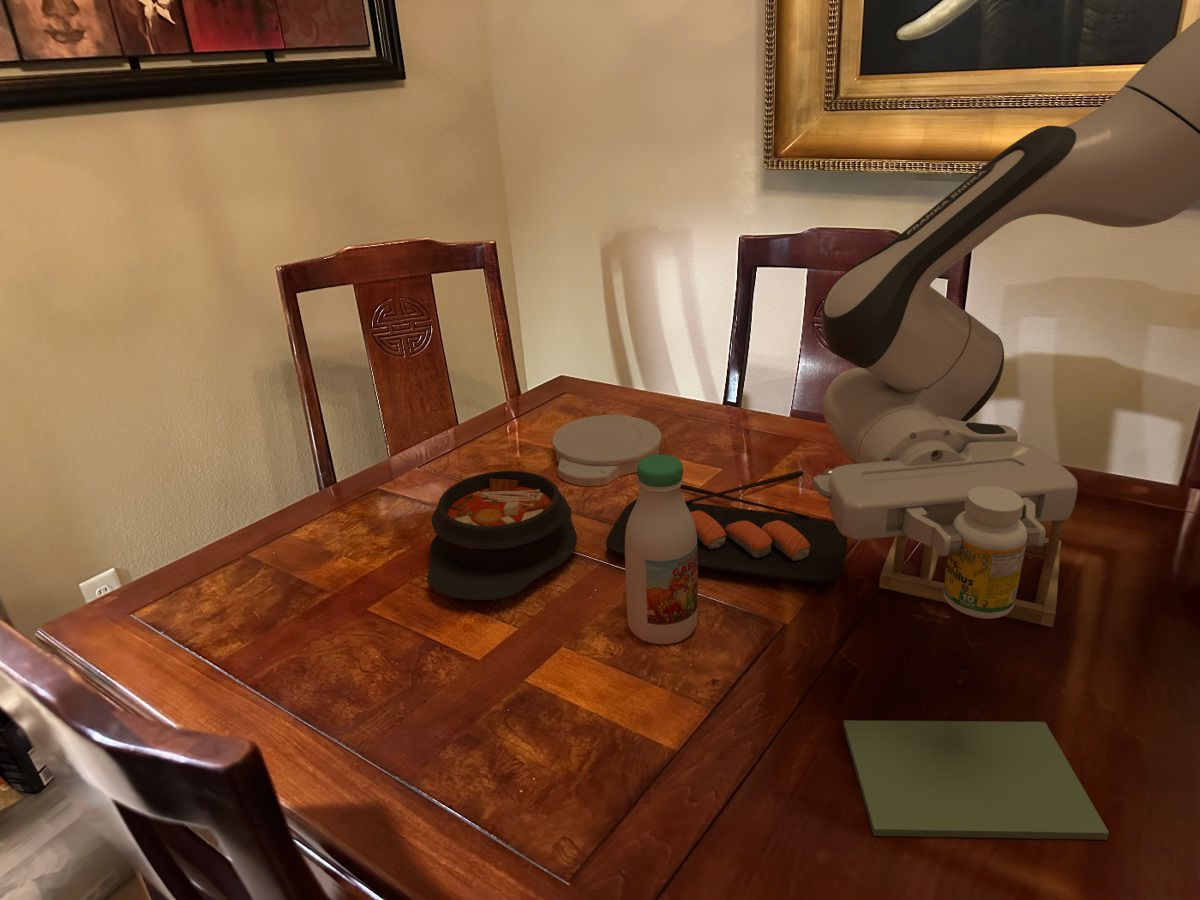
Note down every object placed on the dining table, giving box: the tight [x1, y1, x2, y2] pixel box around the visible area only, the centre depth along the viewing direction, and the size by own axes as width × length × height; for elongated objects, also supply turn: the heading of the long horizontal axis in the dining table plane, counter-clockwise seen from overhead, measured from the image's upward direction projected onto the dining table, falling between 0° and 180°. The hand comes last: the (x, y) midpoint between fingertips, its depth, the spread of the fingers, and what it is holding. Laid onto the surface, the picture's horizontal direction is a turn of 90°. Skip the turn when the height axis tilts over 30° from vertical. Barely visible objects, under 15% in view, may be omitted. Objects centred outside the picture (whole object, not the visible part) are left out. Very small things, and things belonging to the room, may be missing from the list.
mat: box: [842, 719, 1110, 841], centre depth 72 cm, size 18×12×1 cm, turn 87°
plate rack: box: [878, 520, 1065, 628], centre depth 97 cm, size 16×18×13 cm
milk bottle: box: [624, 453, 699, 645], centre depth 89 cm, size 8×8×20 cm
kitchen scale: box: [551, 414, 663, 487], centre depth 131 cm, size 17×20×3 cm
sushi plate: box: [605, 470, 849, 585], centre depth 112 cm, size 29×30×4 cm
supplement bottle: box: [943, 486, 1028, 619], centre depth 66 cm, size 5×5×10 cm
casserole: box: [426, 470, 578, 601], centre depth 105 cm, size 25×19×8 cm
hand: (995, 543), depth 65 cm, fingers closed on supplement bottle, 5 cm apart
